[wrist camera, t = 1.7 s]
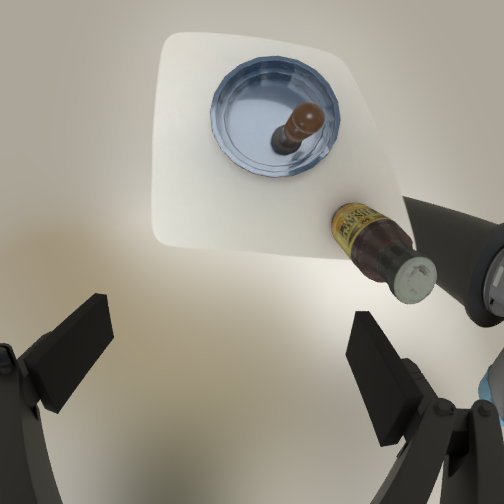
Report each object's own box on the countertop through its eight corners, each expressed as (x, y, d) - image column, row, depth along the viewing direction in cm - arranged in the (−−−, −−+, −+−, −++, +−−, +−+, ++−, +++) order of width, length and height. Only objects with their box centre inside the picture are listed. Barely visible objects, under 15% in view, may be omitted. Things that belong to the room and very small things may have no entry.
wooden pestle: (265, 134, 34) (272, 102, 16) (291, 122, 34) (321, 80, 16) (279, 159, 35) (299, 151, 17) (304, 147, 35) (348, 128, 17)
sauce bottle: (359, 193, 37) (441, 220, 18) (378, 232, 39) (460, 286, 19) (318, 217, 38) (372, 266, 19) (339, 255, 40) (398, 329, 21)
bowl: (336, 86, 33) (348, 74, 27) (315, 186, 37) (325, 190, 31) (230, 63, 33) (225, 47, 27) (208, 164, 37) (199, 163, 31)
